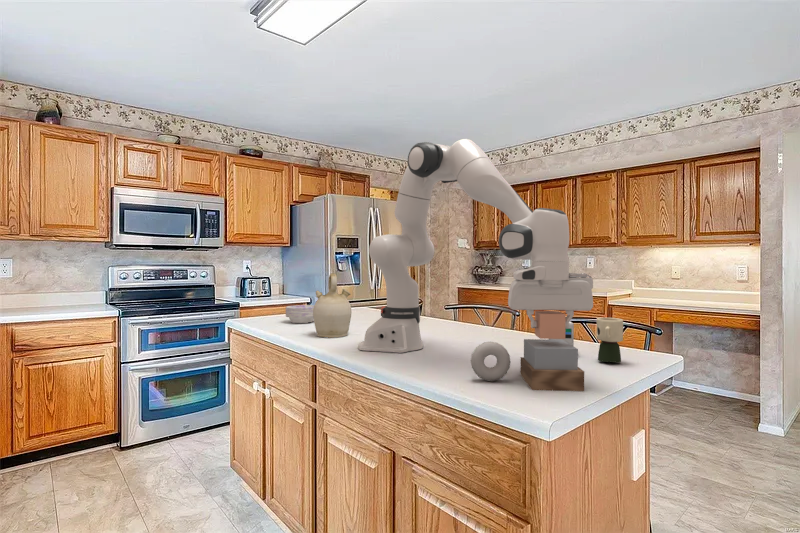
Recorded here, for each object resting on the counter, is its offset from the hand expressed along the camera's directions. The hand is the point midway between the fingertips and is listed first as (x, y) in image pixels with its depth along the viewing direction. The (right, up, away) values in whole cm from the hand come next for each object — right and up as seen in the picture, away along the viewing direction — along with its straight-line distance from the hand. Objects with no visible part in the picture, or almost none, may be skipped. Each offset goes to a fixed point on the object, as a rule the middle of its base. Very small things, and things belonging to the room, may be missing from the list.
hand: (549, 328), depth 112 cm
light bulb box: (+15, -13, +34) cm, 39 cm away
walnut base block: (0, -14, 0) cm, 14 cm away
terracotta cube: (0, -2, 0) cm, 2 cm away
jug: (-64, -12, +68) cm, 94 cm away
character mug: (+25, -13, +21) cm, 35 cm away
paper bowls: (-85, -12, +104) cm, 134 cm away
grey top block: (0, -9, 0) cm, 9 cm away
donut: (-14, -14, +1) cm, 20 cm away
